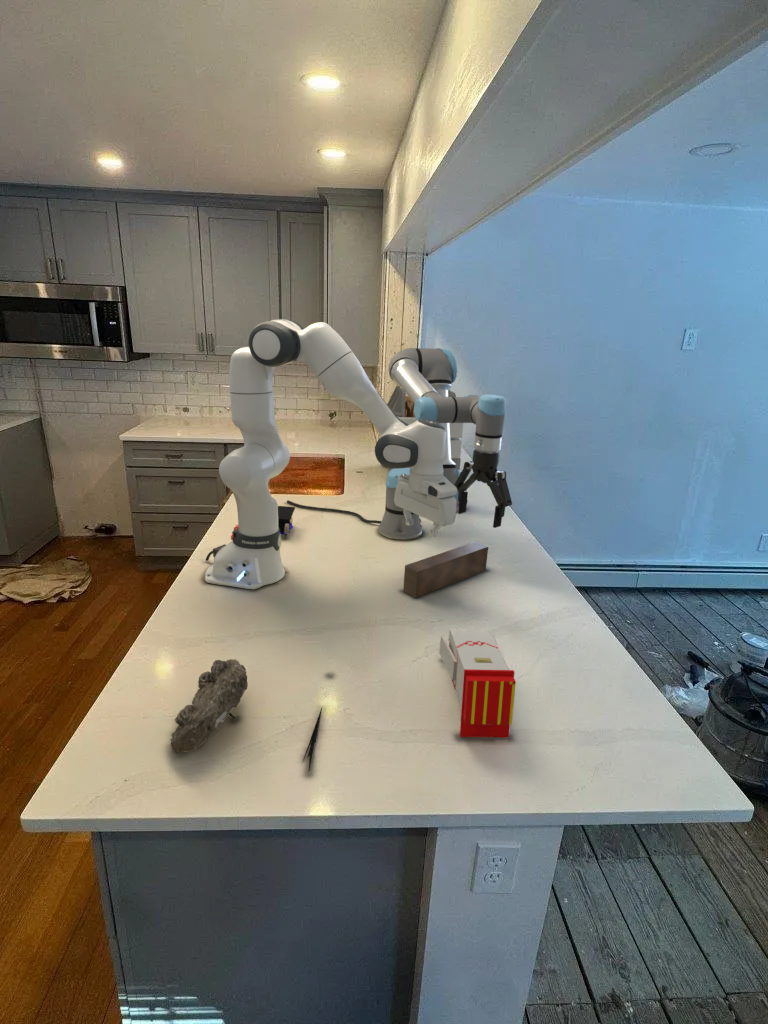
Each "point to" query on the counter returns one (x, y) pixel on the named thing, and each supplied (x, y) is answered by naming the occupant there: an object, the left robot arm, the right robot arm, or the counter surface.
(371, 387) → the left robot arm
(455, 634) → the toy
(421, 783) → the counter surface
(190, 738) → the fossil
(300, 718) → the counter surface
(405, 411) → the transformer
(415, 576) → the walnut beam
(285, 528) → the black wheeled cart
